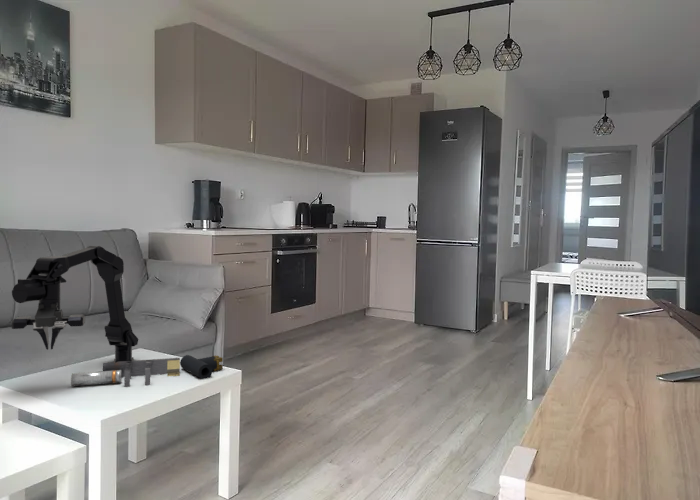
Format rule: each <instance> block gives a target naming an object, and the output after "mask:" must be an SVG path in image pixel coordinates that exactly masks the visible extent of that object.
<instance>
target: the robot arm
mask: <svg viewBox="0 0 700 500" xmlns="http://www.w3.org/2000/svg"><path fill="white" fill-rule="evenodd" d="M87 262H91V264H93V265H94V267H96V269H97V272H98V275H99V277H100V278H101V279H102V281H103V282H104V287H105V293H106V302H107V307H108V308H107V309H108V314H109V321H108V323H107V325H105V326H104V331H105V335H104V336H105V338H106V339H107V341H108V344H109V346H114V359H113V362H119V361H134V357H133V347H135V346H137V345H138V343H139V337H137V335H136V334H135V333H134V332H133V328H132V325H131V323H130V322H129V321H128V319H127V318H126V315H125V308H124V300H123V292H122V285H121V278H122V276H123V275H124V269H125V266H124V265H125V263H124V260H123V258H121V257H120V256H118V255H116V254H114V253H112V252H110V251H109V250H107V249H105V248H104V247H102V246H100V245H88V246H87V247H84V248H81V249H78V250H75V251H72V252H68V253H65V254H63V255H53V256H51V255H50V256H41V257H38V258H36V261H35V263H34V266H33V267H32V269H31V270H30V272H29V273H28V275H27V277H26V278H18V279H17V283H16V284H15V285H14V286H13V289H12V290H11V296H12V298H13V301H15V302H16V303H19V304H24V303H30V302H31V303H32V302H37V301H38V304H37V305H38V306H37V307H38V308H37V311H36V312H35V315H34V318H32V316H31V315H24V316H23V315H21V316H17V317H15V318H13V320H11V329H13V330H14V329H15V330H17V329H19V330H21V329H25V328H26V327H27V326H33V328H32V331H33V332H37V333H38V334H39V336H40V338H41V339H42V342H43V345H44V347H45V349H46V350H47V351H48V350H49V349H50V350H53V349H54V347H55V344H56V343H57V339H58V336H59V334H60V332H61V330H64V329H65V328H66V327H67V324H68V325H69V326H70V327H71V328H72V327H83V326H84V325H85V324H86V315H85V314H82V313H81V314H70V315H69V316H68V317H64V314H63V313H64V312H63V310H62V309H61V284H62V283H63V284H64V283H66V282H67V280H66V279H65V278H64V277H62V276H63V275H64V274H66V273H68V271H70V269H71V268H72V267H76V266H79V265H81V264H85V263H87ZM49 328H51V332H52V333H51V339H50V340H49Z"/></svg>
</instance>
